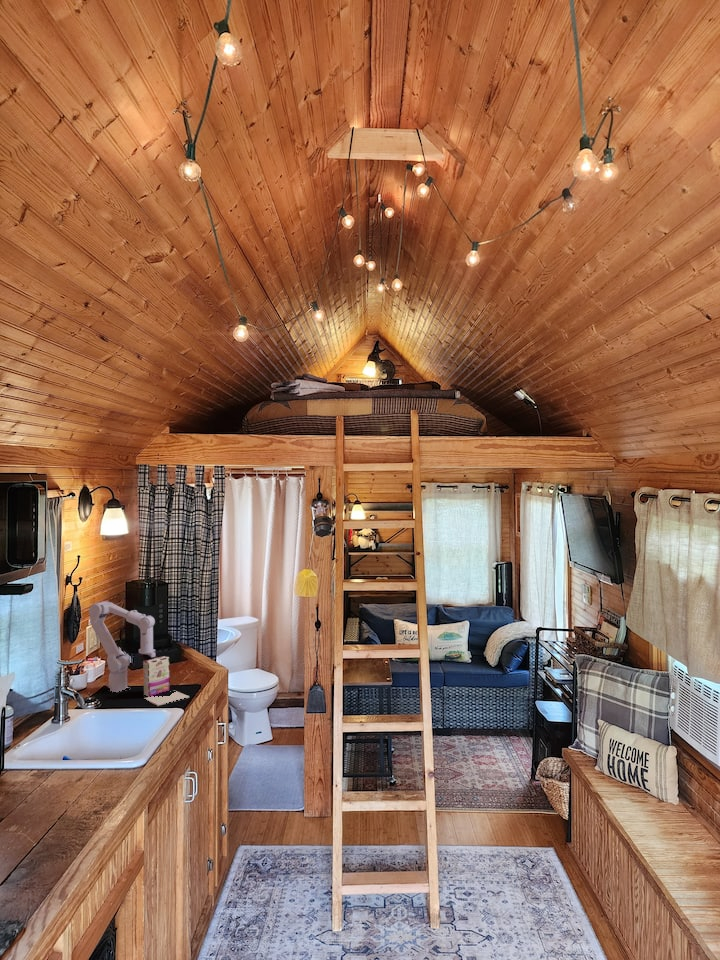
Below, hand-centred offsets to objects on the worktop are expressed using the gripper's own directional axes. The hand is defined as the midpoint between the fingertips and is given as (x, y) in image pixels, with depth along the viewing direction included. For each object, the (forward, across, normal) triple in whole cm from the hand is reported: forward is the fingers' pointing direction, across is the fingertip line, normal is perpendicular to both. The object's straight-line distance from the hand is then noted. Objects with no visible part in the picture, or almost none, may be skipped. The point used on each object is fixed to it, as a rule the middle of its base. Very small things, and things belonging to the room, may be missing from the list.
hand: (147, 670), depth 277 cm
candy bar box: (+10, -10, 0) cm, 14 cm away
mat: (+9, -21, 0) cm, 23 cm away
